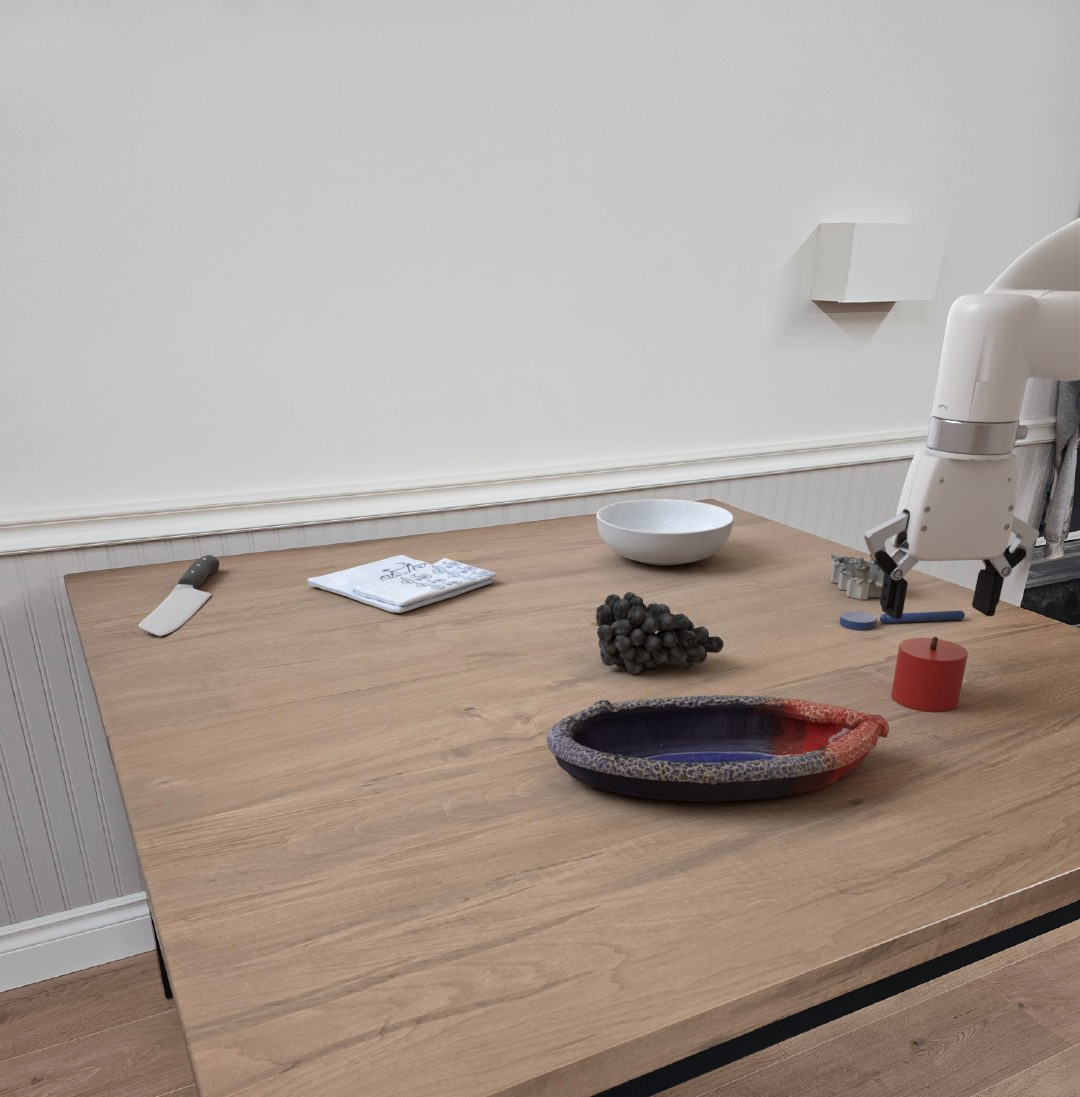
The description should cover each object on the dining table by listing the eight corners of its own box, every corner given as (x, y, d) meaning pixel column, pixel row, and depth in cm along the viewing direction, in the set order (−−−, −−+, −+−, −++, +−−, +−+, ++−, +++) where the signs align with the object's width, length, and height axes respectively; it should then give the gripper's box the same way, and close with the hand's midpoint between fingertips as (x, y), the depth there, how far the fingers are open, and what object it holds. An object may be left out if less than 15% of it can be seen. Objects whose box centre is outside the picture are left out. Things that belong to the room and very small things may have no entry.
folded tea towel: (400, 617, 125) (398, 601, 125) (304, 587, 137) (303, 572, 137) (499, 583, 139) (499, 569, 138) (404, 558, 150) (403, 545, 150)
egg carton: (901, 601, 131) (906, 571, 129) (845, 601, 131) (849, 571, 129) (877, 577, 140) (881, 549, 138) (825, 577, 140) (828, 549, 138)
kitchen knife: (175, 630, 119) (133, 620, 118) (173, 649, 120) (131, 639, 119) (235, 559, 145) (201, 550, 144) (233, 575, 146) (199, 566, 145)
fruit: (727, 583, 108) (592, 579, 108) (734, 630, 102) (591, 625, 102) (717, 643, 114) (589, 639, 114) (723, 691, 108) (588, 686, 108)
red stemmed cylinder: (939, 684, 105) (950, 624, 102) (970, 710, 99) (983, 646, 96) (880, 687, 104) (890, 627, 101) (908, 713, 98) (919, 649, 95)
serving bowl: (576, 569, 145) (576, 523, 142) (619, 535, 162) (621, 494, 159) (713, 583, 138) (716, 536, 135) (743, 547, 155) (746, 504, 152)
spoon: (954, 613, 125) (956, 605, 125) (972, 625, 122) (974, 616, 121) (834, 619, 124) (835, 610, 123) (847, 630, 120) (849, 621, 119)
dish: (542, 737, 93) (542, 689, 91) (856, 730, 94) (863, 683, 92) (550, 820, 79) (550, 767, 77) (918, 811, 80) (929, 758, 78)
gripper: (1034, 431, 94) (998, 599, 101) (864, 433, 92) (839, 604, 100) (1082, 443, 87) (1039, 623, 95) (899, 446, 86) (870, 628, 93)
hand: (937, 613), depth 97 cm, fingers open, 9 cm apart
